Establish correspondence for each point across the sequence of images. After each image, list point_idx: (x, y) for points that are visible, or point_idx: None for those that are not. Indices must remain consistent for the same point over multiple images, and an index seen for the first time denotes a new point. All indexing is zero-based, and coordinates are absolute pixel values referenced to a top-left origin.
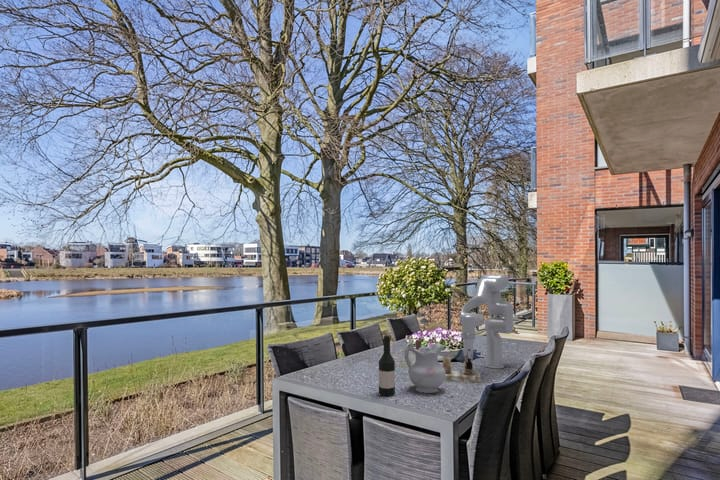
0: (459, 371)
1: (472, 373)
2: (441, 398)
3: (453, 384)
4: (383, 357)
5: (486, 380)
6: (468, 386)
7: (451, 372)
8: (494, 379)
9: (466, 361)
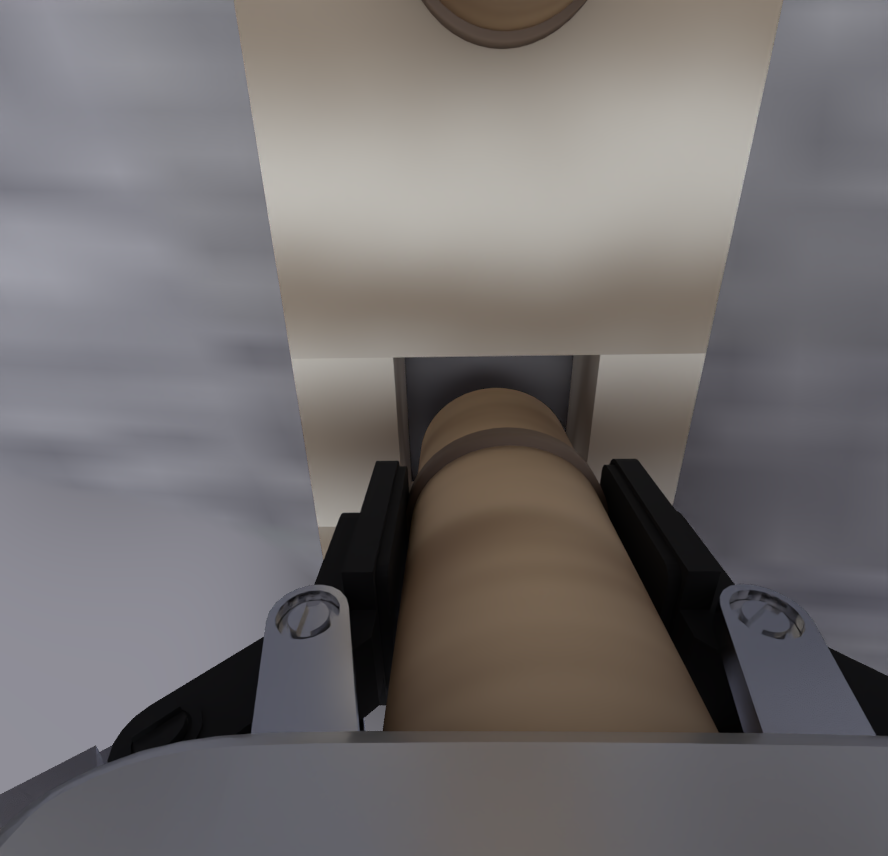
0: (671, 277)
1: None
2: None
3: (81, 133)
4: None
5: None
6: (93, 384)
7: (563, 64)
8: None
9: (421, 584)
